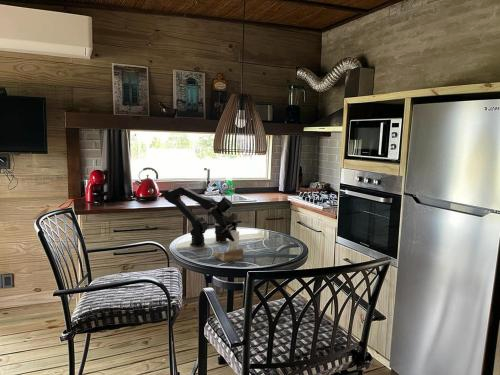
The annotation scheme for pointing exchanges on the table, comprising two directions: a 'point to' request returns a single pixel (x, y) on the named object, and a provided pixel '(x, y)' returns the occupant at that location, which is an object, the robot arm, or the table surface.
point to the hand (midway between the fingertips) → (236, 239)
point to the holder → (229, 255)
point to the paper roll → (234, 243)
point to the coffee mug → (218, 237)
